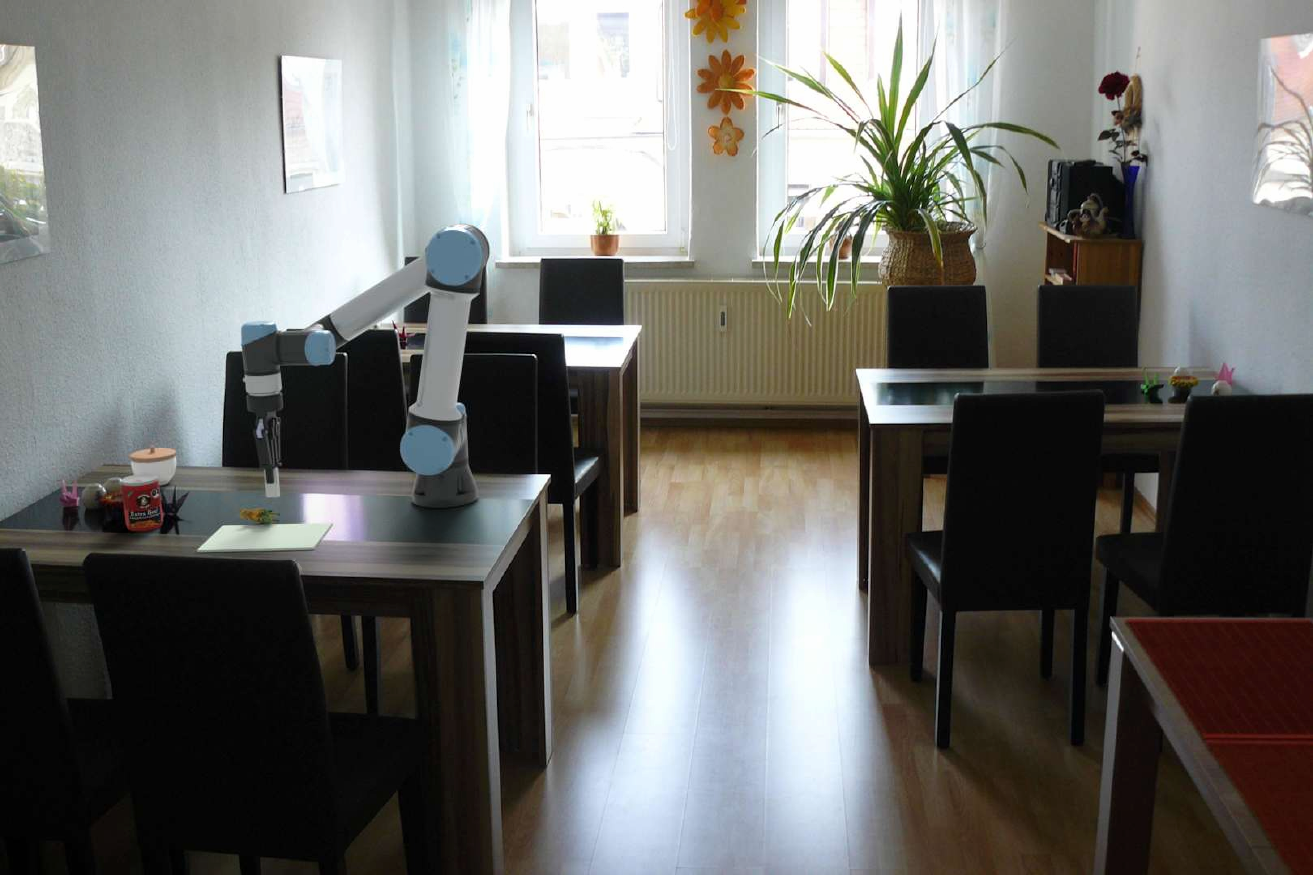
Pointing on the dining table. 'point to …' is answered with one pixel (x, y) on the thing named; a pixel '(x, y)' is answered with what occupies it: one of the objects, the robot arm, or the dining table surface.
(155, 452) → the lidded jar
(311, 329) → the robot arm
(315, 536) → the mat
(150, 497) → the canned food
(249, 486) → the dining table surface
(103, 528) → the dining table surface
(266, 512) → the figurine
